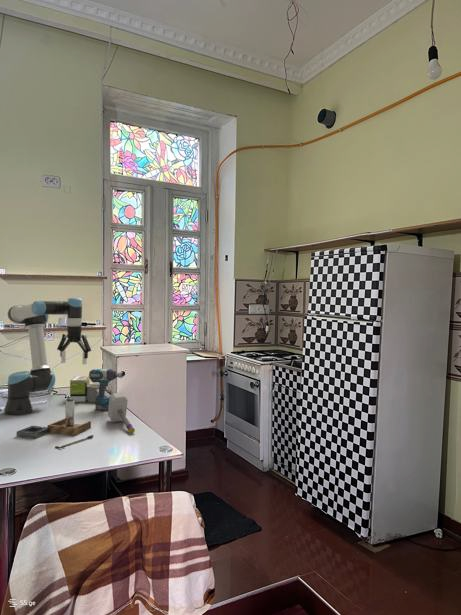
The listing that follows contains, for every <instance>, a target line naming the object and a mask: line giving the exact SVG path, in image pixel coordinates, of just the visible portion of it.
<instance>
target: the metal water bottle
mask: <svg viewBox="0 0 461 615" xmlns="http://www.w3.org/2000/svg"><path fill="white" fill-rule="evenodd" d="M75 403H76V402H75V400H73V398H70V397H68V398H66V400H65V410H64V412H65V414H64V416H65V417H64V418H65V427H73V428H74V424H75Z"/></svg>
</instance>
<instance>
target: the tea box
mask: <svg viewBox="0 0 461 615" xmlns="http://www.w3.org/2000/svg"><path fill="white" fill-rule="evenodd" d="M90 381H91V379H90V378H89V375H81V376H80V375H78V376H77V375H76V376H74V377H73V378H71V379H70V380H69V394H70V395H69V398H73V400H75V403H77V402H79V403H83V402H84V403H85V402H87V386H88V385H91V382H90Z"/></svg>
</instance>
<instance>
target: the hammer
mask: <svg viewBox="0 0 461 615" xmlns="http://www.w3.org/2000/svg"><path fill="white" fill-rule="evenodd" d="M109 397H110V399H109V409H108V410H107V416H108V418H109V419H110V422H111V423H113V424H114V423H121V422H122V423H124V425H125V428H126V430H127V432H128V433H129V434H130V433H132V434H134V433H135V430H136V429H135V428H134V426H133V424H132V423H131V422H130V421H129V419H128V418H127V408H128V399H127V396H126V395H125V394H124V393H123V392H114V393H111V394H109Z"/></svg>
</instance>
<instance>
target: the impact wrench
mask: <svg viewBox="0 0 461 615" xmlns="http://www.w3.org/2000/svg"><path fill="white" fill-rule="evenodd" d="M88 376H89V378H90V381H91V382H92V383H98V384H99V385H100V386H99V395H98V396H97V397H96V402H95V409H96V410H98V411H108V409H109V399H110V396H108V395H105V392H106V389H107V387H108V386H109V383H110V382H111V381H113V380H115V379H117V378H118V379H122V378H123V377H124V372H123V371H119V372H117V371H116V370H114V369H112V368H108V369H107V368H98V369H91V370H90V371H89V374H88Z"/></svg>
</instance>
